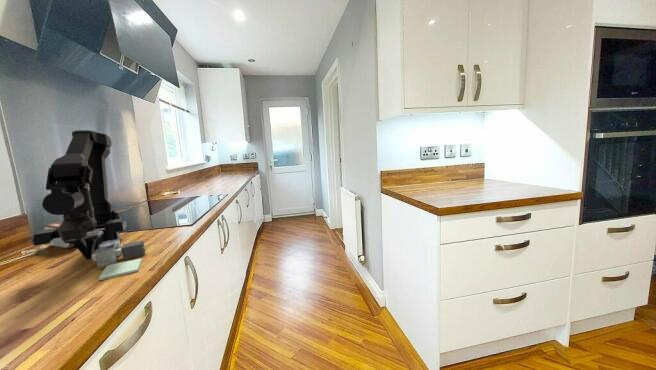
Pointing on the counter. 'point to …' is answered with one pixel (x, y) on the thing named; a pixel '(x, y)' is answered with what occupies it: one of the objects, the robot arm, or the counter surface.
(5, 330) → the counter surface
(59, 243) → the tin
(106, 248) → the housing
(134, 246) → the plug
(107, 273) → the mat
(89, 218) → the robot arm
